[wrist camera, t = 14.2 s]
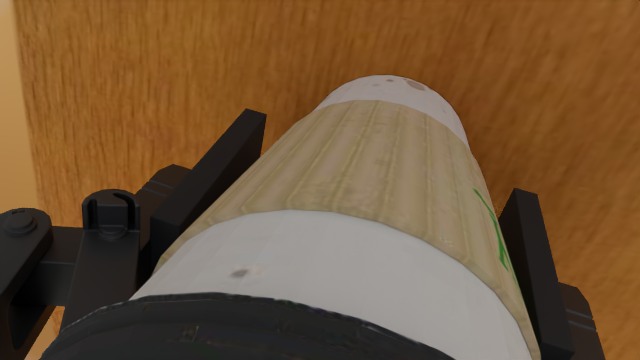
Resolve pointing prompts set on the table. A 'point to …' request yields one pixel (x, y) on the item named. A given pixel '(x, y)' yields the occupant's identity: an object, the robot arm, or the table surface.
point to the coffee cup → (334, 251)
